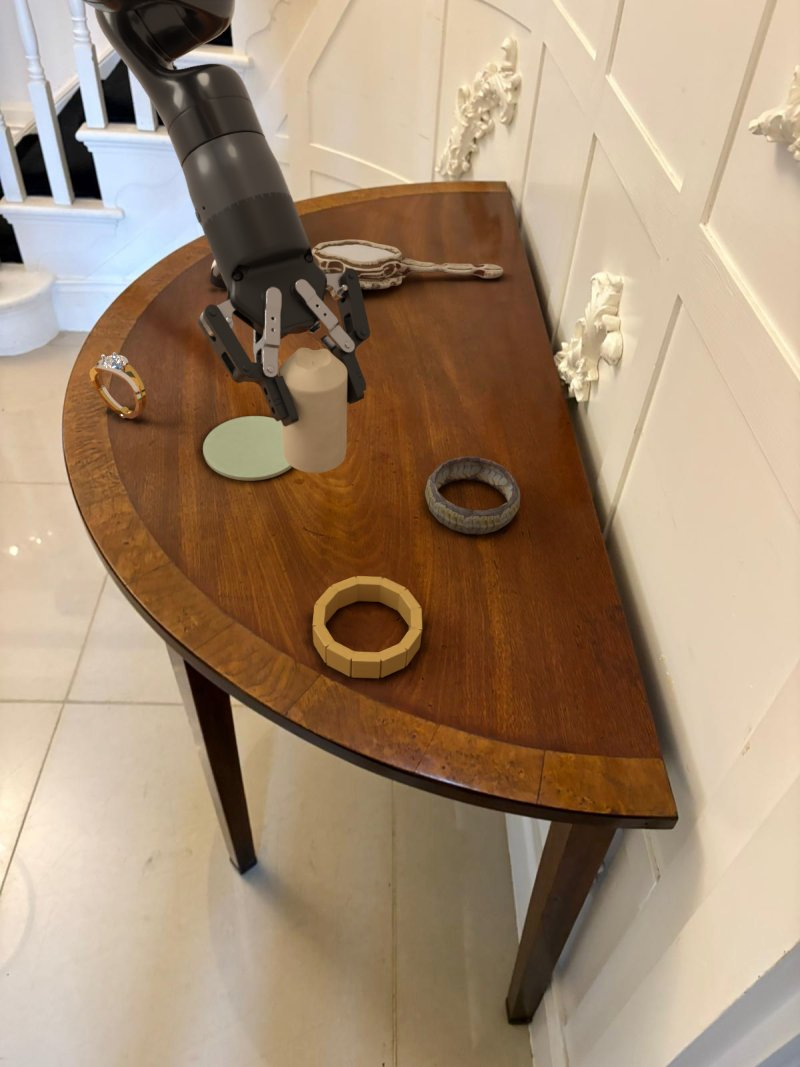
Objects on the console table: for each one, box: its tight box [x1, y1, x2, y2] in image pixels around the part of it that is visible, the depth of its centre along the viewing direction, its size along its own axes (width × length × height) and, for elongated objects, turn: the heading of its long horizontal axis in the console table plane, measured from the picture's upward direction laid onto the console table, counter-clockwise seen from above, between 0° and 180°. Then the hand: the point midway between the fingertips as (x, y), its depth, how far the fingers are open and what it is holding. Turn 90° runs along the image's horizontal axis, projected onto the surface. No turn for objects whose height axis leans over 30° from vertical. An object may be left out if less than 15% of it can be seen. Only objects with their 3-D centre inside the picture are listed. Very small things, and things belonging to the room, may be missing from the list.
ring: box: [88, 351, 147, 420], centre depth 89 cm, size 7×3×8 cm, turn 57°
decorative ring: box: [424, 456, 521, 535], centre depth 83 cm, size 10×3×10 cm
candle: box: [278, 347, 348, 474], centre depth 66 cm, size 6×6×10 cm
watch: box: [210, 259, 227, 290], centre depth 115 cm, size 8×5×4 cm, turn 164°
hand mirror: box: [311, 239, 504, 290], centre depth 117 cm, size 11×6×30 cm
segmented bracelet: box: [312, 575, 423, 679], centre depth 70 cm, size 10×10×2 cm
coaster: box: [202, 415, 293, 482], centre depth 89 cm, size 11×11×1 cm
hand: (324, 411), depth 64 cm, fingers closed on candle, 5 cm apart
